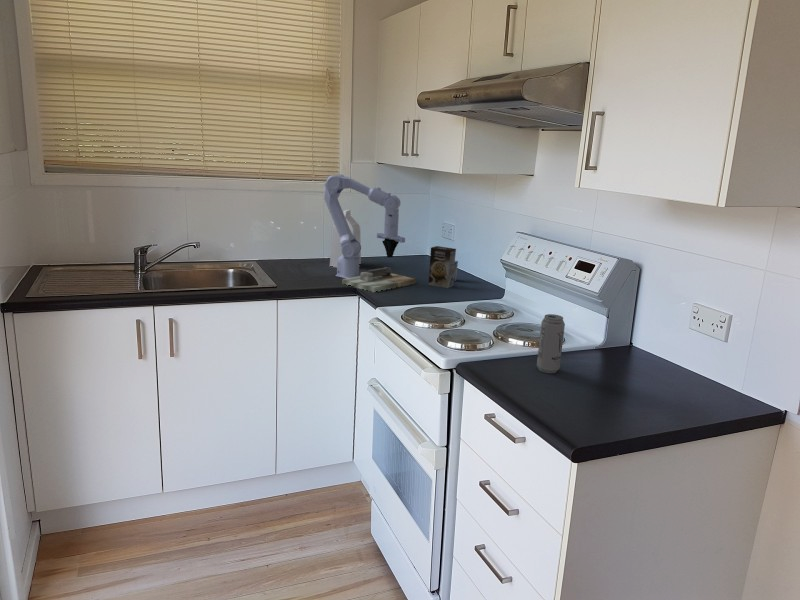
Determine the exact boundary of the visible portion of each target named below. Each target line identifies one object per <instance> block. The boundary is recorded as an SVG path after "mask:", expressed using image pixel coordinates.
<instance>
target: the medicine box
mask: <svg viewBox="0 0 800 600" xmlns="http://www.w3.org/2000/svg"><path fill="white" fill-rule="evenodd" d="M458 264H459V261H458V260H455V266H454V278H453V283H454V282H456V281H457V278H458V266H459V265H458Z"/></svg>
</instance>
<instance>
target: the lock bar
mask: <svg viewBox="0 0 800 600" xmlns="http://www.w3.org/2000/svg"><path fill="white" fill-rule="evenodd" d="M367 272H369V273H373V277H378V276H384V275H391V273H392V268H391V267H390V266H385V267H380V268H375V269H368V270H367Z"/></svg>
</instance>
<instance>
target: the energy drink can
mask: <svg viewBox="0 0 800 600" xmlns="http://www.w3.org/2000/svg"><path fill="white" fill-rule="evenodd" d="M565 326H566V324H565V321H564V316H561V315H558V314H550V313H549V314H545V315H544V317H543V319H542V320H541V323H540V333H539V342H538V351H537V352H538V353H537V360H536V367H537V368H538V370H539V371H540V372H543V373H546V374H556V373H557V372H558V370H560V367H561V359H562V350H563V343H564V337H565V336H564V335H565Z"/></svg>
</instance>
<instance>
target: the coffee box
mask: <svg viewBox="0 0 800 600" xmlns="http://www.w3.org/2000/svg"><path fill="white" fill-rule="evenodd" d="M456 252H457V248H453V247H452V248H451V247H445V246H440V245H439V246H438V245H436V246H432V247H430V257H429V269H428V270H429V272H428V286H431V287H438V288H445V289H449V288H452V287H454V281H453V278H454V266H455V261H456Z"/></svg>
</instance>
